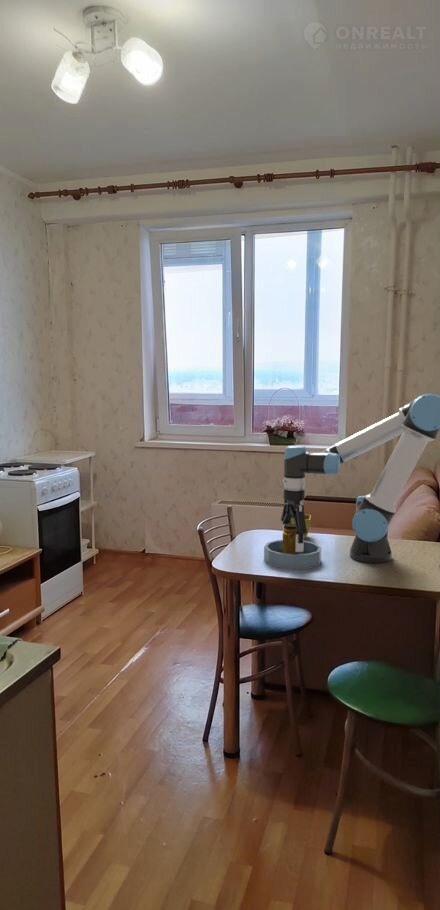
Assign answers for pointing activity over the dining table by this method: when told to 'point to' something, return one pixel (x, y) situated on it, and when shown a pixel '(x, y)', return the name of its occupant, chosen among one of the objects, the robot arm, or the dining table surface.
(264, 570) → the dining table surface
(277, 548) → the bowl
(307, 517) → the flower pot
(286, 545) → the condiment
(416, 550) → the dining table surface
